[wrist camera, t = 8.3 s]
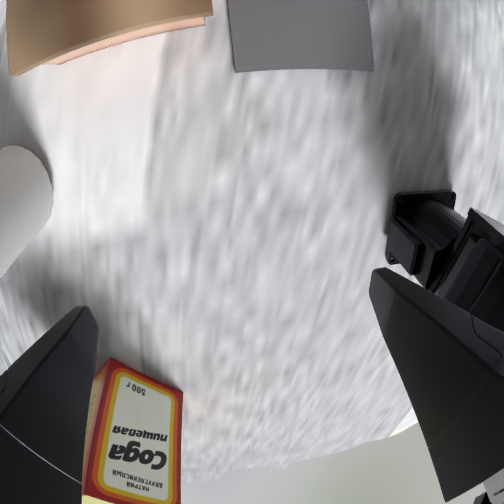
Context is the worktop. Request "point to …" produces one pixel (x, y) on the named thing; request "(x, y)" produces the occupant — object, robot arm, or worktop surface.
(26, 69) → the lid
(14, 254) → the can
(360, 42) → the mat
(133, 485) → the baking soda box
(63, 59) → the dish
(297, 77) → the worktop surface
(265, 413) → the worktop surface
